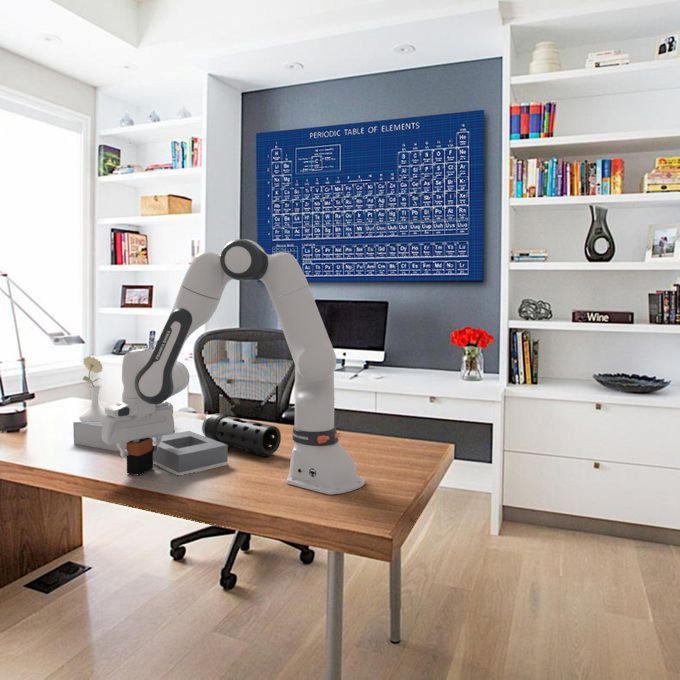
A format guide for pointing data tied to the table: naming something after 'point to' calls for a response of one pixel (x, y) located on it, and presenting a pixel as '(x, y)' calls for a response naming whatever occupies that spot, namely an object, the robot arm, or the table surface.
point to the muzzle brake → (242, 434)
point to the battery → (139, 455)
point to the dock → (189, 453)
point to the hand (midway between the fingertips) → (139, 453)
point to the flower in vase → (93, 392)
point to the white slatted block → (94, 435)
